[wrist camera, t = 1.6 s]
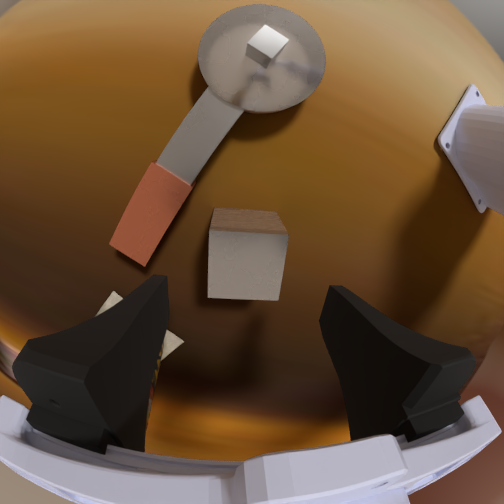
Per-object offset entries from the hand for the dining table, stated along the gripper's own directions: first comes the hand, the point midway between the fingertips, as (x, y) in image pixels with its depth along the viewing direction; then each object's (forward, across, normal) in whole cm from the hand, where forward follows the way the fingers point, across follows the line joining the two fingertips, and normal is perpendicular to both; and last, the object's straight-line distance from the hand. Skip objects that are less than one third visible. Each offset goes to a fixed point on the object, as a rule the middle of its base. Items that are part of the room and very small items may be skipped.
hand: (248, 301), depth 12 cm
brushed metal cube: (+7, 0, 0) cm, 7 cm away
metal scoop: (+7, +3, -7) cm, 10 cm away
